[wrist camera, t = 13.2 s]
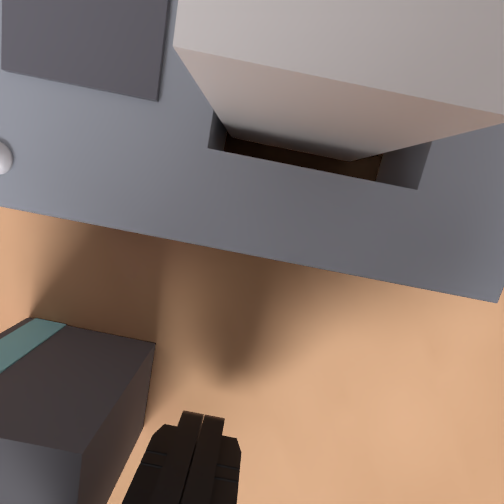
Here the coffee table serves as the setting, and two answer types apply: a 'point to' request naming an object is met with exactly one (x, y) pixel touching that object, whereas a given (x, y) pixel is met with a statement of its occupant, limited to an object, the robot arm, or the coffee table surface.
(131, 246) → the coffee table surface
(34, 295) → the coffee table surface
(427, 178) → the outlet
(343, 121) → the block
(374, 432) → the coffee table surface
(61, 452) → the grey and blue block
